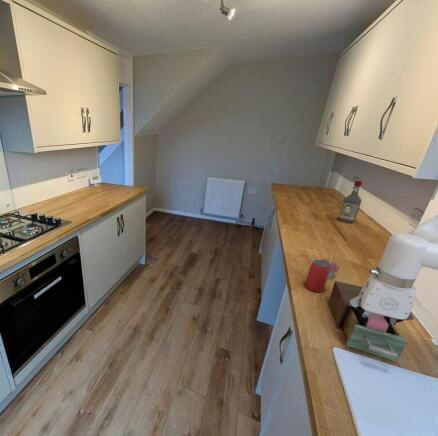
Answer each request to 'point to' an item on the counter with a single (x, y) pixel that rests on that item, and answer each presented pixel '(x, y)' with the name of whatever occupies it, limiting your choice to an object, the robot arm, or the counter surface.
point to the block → (377, 322)
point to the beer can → (317, 275)
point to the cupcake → (332, 266)
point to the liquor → (350, 205)
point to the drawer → (372, 338)
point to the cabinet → (342, 300)
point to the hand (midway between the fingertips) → (371, 327)
